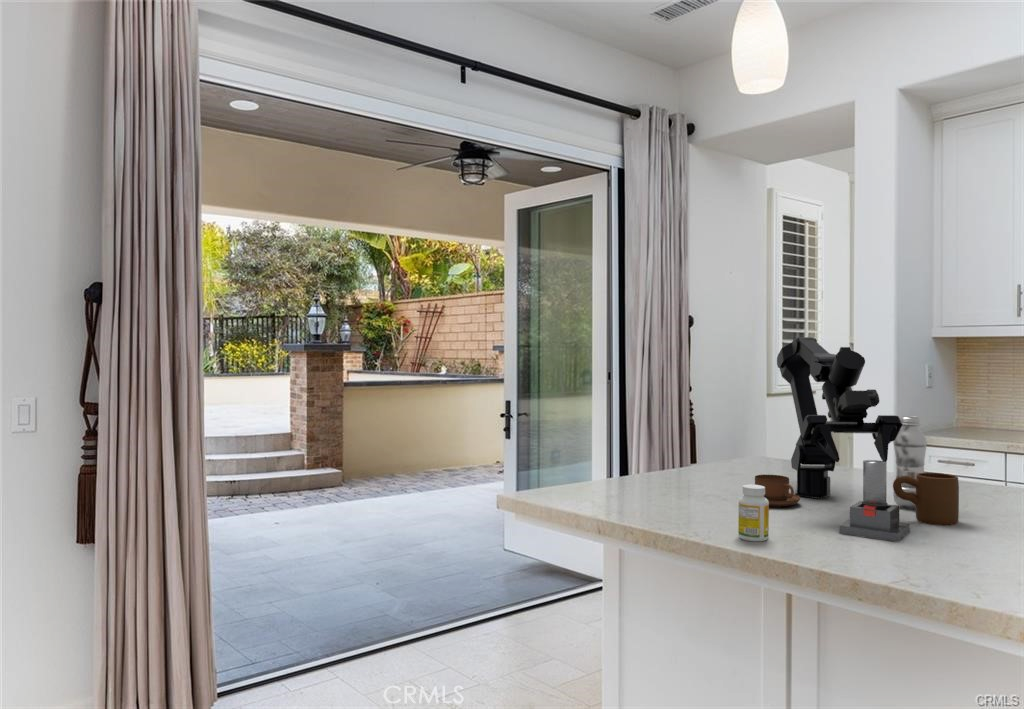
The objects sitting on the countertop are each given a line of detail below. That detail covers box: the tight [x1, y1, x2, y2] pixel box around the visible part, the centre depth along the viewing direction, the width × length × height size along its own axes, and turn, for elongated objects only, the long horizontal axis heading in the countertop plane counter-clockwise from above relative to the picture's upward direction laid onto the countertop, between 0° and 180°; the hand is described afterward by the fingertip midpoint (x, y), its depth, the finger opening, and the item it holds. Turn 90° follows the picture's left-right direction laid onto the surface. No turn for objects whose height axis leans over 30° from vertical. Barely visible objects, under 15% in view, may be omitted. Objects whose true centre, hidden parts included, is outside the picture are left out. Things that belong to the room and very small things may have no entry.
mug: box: [892, 472, 960, 526], centre depth 151 cm, size 12×8×9 cm, turn 77°
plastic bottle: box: [892, 415, 928, 509], centre depth 164 cm, size 6×7×20 cm
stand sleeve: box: [838, 500, 911, 543], centre depth 142 cm, size 10×10×6 cm
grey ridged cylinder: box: [861, 459, 888, 510], centre depth 142 cm, size 4×4×12 cm
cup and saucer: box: [754, 474, 801, 508], centre depth 169 cm, size 12×12×6 cm
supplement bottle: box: [737, 484, 770, 542], centre depth 138 cm, size 5×5×10 cm
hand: (861, 461), depth 148 cm, fingers open, 9 cm apart
